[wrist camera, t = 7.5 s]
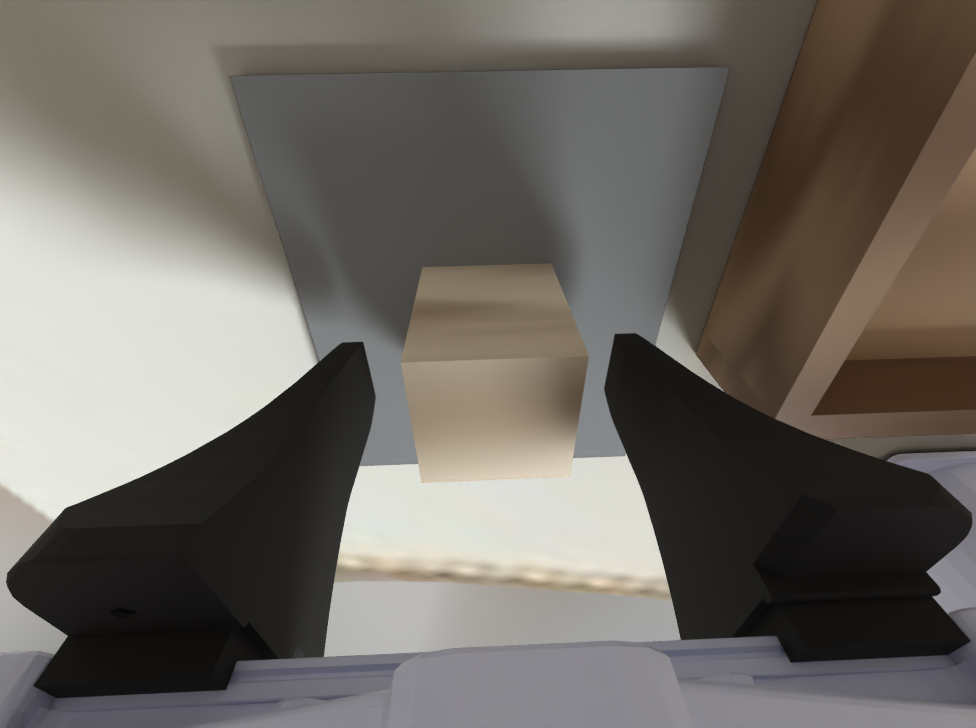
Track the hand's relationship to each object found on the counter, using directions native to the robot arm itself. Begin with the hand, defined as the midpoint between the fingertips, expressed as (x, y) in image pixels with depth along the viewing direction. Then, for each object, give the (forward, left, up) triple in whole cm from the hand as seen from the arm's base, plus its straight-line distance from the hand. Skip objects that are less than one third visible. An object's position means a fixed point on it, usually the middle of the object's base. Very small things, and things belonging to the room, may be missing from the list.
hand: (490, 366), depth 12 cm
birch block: (0, 0, -2) cm, 2 cm away
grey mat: (0, 0, -3) cm, 3 cm away
